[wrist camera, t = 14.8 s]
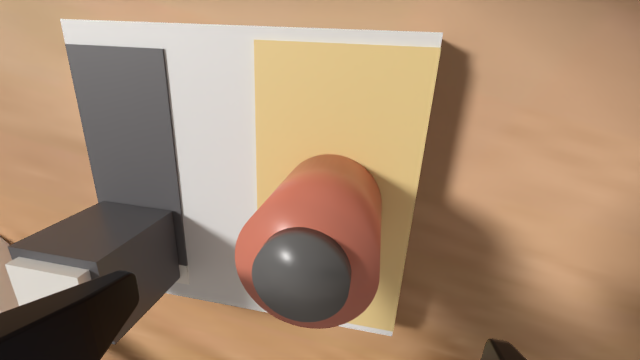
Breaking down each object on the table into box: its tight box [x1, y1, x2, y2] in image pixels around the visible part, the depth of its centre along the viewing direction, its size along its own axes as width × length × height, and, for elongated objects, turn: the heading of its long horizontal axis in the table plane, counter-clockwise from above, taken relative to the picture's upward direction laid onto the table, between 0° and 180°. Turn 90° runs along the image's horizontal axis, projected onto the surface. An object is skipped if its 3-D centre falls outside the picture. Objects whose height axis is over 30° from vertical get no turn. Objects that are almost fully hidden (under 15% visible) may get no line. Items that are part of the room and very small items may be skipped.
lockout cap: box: [235, 154, 382, 329], centre depth 11 cm, size 4×4×6 cm
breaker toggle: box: [5, 201, 180, 344], centre depth 15 cm, size 4×4×5 cm
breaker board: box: [60, 19, 443, 336], centre depth 16 cm, size 14×16×2 cm
